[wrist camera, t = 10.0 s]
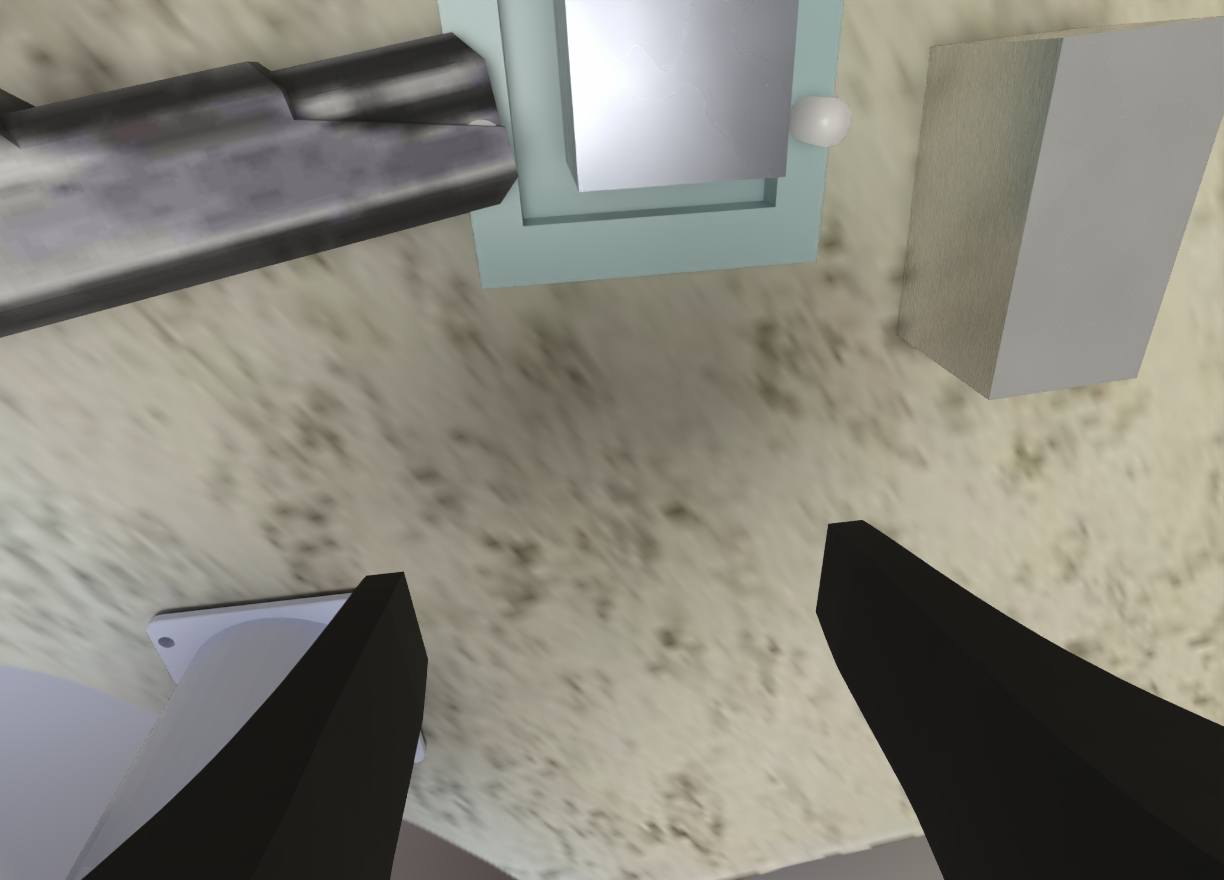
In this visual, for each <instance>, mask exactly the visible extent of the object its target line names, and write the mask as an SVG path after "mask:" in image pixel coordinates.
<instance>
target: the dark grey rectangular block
mask: <svg viewBox="0 0 1224 880" xmlns="http://www.w3.org/2000/svg"><path fill="white" fill-rule="evenodd" d="M798 6H799V0H553V7H554V19H555V32H556V44H557V57H558V69H559V81H560V94H561V106H562V119H563V131H564V143H565V156H566V163H567V165H568V167H569V170H570V172H571V174H572V177H573V179H574V181H575V184H576V186H577V189H578V191H579V192H586V191H599V190H613V189H627V188H641V187H654V186H668V185H682V184H695V183H709V182H723V181H737V180H750V179H764V178H778V177H786V164H787V151H788V138H789V124H790V111H791V98H792V85H793V72H794V59H795V45H796V32H797V19H798Z"/></svg>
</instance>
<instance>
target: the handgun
mask: <svg viewBox="0 0 1224 880" xmlns="http://www.w3.org/2000/svg"><path fill="white" fill-rule="evenodd" d="M476 120H487V121H490V122H492V123H494V124H496V126H483V125H468V124H469V123H471V122H473V121H476ZM517 178H518V173H517V169H516V165H515V161H514V157H513V153H512V149H511V145H510V141H509V137H508V133H507V129H506V127H504V126H502V125H501V121H500V117H499V114H498V110H497V106H496V102H495V98H494V94H493V90H492V86H491V82H490V78H489V74H488V71H487V67H486V63H485V59H484V58H483V57H482V56H480V55H479V54H478V53H477V52H476V51H474V50H473V49H472V48H471V47H470V46H468V45H467V44H466V43H465V42H463V41H462V40H461V39H460V38H459V37H457V36H456V35H455V34H454V33H453V32H449V33H445V34H440V35H436V36H431V37H426V38H422V39H417V40H413V41H408V42H404V43H399V44H395V45H390V46H385V47H381V48H376V49H372V50H367V51H363V52H358V53H354V54H349V55H345V56H340V57H335V58H331V59H326V60H322V61H317V62H313V63H308V64H304V65H299V66H294V67H290V68H285V69H281V70H276V71H272V72H271V71H270V70H268V69H267V68H265V67H264V66H262V65H261V64H259V63H258V62H243V63H238V64H233V65H229V66H224V67H220V68H215V69H210V70H206V71H201V72H196V73H192V74H187V75H183V76H178V77H173V78H169V79H164V80H159V81H155V82H150V83H146V84H141V85H136V86H132V87H127V88H122V89H118V90H113V91H109V92H104V93H99V94H95V95H90V96H85V97H81V98H76V99H71V100H67V101H62V102H58V103H53V104H48V105H44V106H39V107H35V106H33V105H31V104H29V103H27V102H25V101H23V100H21V99H19V98H17V97H15V96H13V95H11V94H10V93H8V92H6V91H4V90H2V89H0V338H1V337H4V336H8V335H12V334H15V333H19V332H23V331H27V330H30V329H34V328H38V327H42V326H45V325H49V324H53V323H57V322H60V321H64V320H68V319H72V318H75V317H79V316H83V315H87V314H90V313H94V312H98V311H102V310H105V309H109V308H113V307H117V306H120V305H124V304H128V303H132V302H135V301H139V300H143V299H146V298H150V297H154V296H158V295H161V294H165V293H169V292H173V291H176V290H180V289H184V288H188V287H191V286H195V285H199V284H203V283H206V282H210V281H214V280H218V279H221V278H225V277H229V276H233V275H236V274H240V273H244V272H248V271H251V270H255V269H259V268H262V267H266V266H270V265H274V264H277V263H281V262H285V261H289V260H292V259H296V258H300V257H304V256H307V255H311V254H315V253H319V252H322V251H326V250H330V249H334V248H337V247H341V246H345V245H349V244H352V243H356V242H360V241H364V240H367V239H371V238H375V237H378V236H382V235H386V234H390V233H393V232H397V231H401V230H405V229H408V228H412V227H416V226H420V225H423V224H427V223H431V222H435V221H438V220H442V219H446V218H450V217H453V216H457V215H461V214H465V213H468V212H472V211H476V210H480V209H483V208H487V207H491V206H494V205H498V204H501V202H502V201H503V199H504V198H505V196H506V195H507V193H508V192H509V190H510V189H511V187H512V185H513V184H514V182H515V181H516V179H517Z"/></svg>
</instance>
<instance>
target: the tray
mask: <svg viewBox="0 0 1224 880" xmlns="http://www.w3.org/2000/svg"><path fill="white" fill-rule="evenodd" d="M843 4H844V0H799V6H798V19H797V32H796V45H795V59H794V72H793V85H792V98H791V111H790V124H789V138H788V151H787V164H786V177H778V178H764V179H750V180H737V181H723V182H709V183H695V184H682V185H668V186H654V187H641V188H627V189H613V190H599V191H586V192H579V191H578V189H577V186H576V184H575V181H574V179H573V177H572V174H571V172H570V170H569V167H568V165H567V163H566V156H565V143H564V131H563V119H562V106H561V94H560V81H559V69H558V57H557V44H556V32H555V19H554V7H553V0H438V7H439V13H440V20H441V26H442V33H443V34H445V33H449V32H453V33H454V34H455V35H456V36H457V37H459V38H460V39H461V40H462V41H463V42H465V43H466V44H467V45H468V46H470V47H471V48H472V49H473V50H474V51H476V52H477V53H478V54H479V55H480V56H482V57H483V58H484V59H485V63H486V67H487V71H488V74H489V78H490V82H491V86H492V90H493V94H494V98H495V102H496V106H497V110H498V114H499V117H500V121H501V125H502V126H504V127H506V129H507V133H508V137H509V141H510V145H511V149H512V153H513V157H514V161H515V165H516V169H517V173H518V178H517V179H516V181H515V182H514V184H513V185H512V187H511V189H510V190H509V192H508V193H507V195H506V196H505V198H504V199H503V201H502V202H501V204H498V205H494V206H491V207H487V208H483V209H480V210H476V211H472V212H470V214H471V221H472V227H473V234H474V240H475V247H476V253H477V260H478V266H479V273H480V279H481V286H482V289H491V288H503V287H515V286H527V285H539V284H551V283H564V282H576V281H588V280H600V279H612V278H624V277H636V276H648V275H660V274H672V273H684V272H697V271H709V270H721V269H733V268H745V267H757V266H769V265H781V264H793V263H805V262H817V253H818V244H819V234H820V224H821V215H822V205H823V196H824V186H825V177H826V167H827V157H828V148H829V147H831V146H834V145H836V144H838V143H839V142H841V141H842V140H843V139H844V138H845V136H846V135H847V133H848V131H849V129H850V126H851V121H852V115H851V111H850V108H849V106H848V105H847V103H846V102H844V101H843V100H841V99H839V98H834V90H835V81H836V71H837V62H838V52H839V43H840V33H841V23H842V14H843ZM468 125H483V126H496V124H494V123H492V122H490V121H487V120H476V121H473V122H471V123H469V124H468Z"/></svg>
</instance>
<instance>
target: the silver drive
mask: <svg viewBox="0 0 1224 880" xmlns="http://www.w3.org/2000/svg"><path fill="white" fill-rule="evenodd" d="M1223 113H1224V16H1216V17H1204V18H1192V19H1180V20H1168V21H1157V22H1145V23H1133V24H1121V25H1109V26H1097V27H1085V28H1074V29H1066V30H1059V31H1051V32H1043V33H1035V34H1027V35H1019V36H1011V37H1003V38H996V39H988V40H980V41H972V42H964V43H956V44H948V45H940V46H933V47H930V55H929V63H928V72H927V80H926V89H925V97H924V106H923V114H922V123H921V131H920V140H919V148H918V157H917V165H916V173H915V182H914V190H913V199H912V207H911V216H910V224H909V233H908V241H907V250H906V258H905V266H904V275H903V283H902V292H901V300H900V309H899V317H898V326H897V335H898V336H899V337H901V338H902V339H904V340H905V341H906V342H908V343H909V344H911V345H912V346H913V347H915V348H916V349H918V350H919V351H920V352H922V353H923V354H925V355H926V356H928V357H929V358H930V359H932V360H933V361H935V362H936V363H937V364H939V365H940V366H942V367H943V368H944V369H946V370H947V371H949V372H950V373H951V374H953V375H954V376H956V377H957V378H958V379H960V380H961V381H963V382H964V383H966V384H967V385H968V386H970V387H971V388H973V389H974V390H975V391H977V392H978V393H980V394H981V395H982V396H984V397H985V398H987V399H988V400H993V399H1000V398H1006V397H1013V396H1020V395H1026V394H1033V393H1039V392H1046V391H1053V390H1059V389H1066V388H1072V387H1079V386H1086V385H1092V384H1099V383H1105V382H1112V381H1119V380H1125V379H1132V378H1137V375H1138V372H1139V369H1140V366H1141V363H1142V360H1143V357H1144V354H1145V351H1146V348H1147V345H1148V342H1149V339H1150V336H1151V333H1152V330H1153V326H1154V323H1155V320H1156V317H1157V314H1158V311H1159V308H1160V305H1161V302H1162V299H1163V296H1164V293H1165V290H1166V287H1167V284H1168V281H1169V278H1170V275H1171V272H1172V269H1173V266H1174V262H1175V259H1176V256H1177V253H1178V250H1179V247H1180V244H1181V241H1182V238H1183V235H1184V232H1185V229H1186V226H1187V223H1188V220H1189V217H1190V214H1191V211H1192V208H1193V205H1194V202H1195V198H1196V195H1197V192H1198V189H1199V186H1200V183H1201V180H1202V177H1203V174H1204V171H1205V168H1206V165H1207V162H1208V159H1209V156H1210V153H1211V150H1212V147H1213V144H1214V141H1215V138H1216V134H1217V131H1218V128H1219V125H1220V122H1221V119H1222V116H1223Z"/></svg>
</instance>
